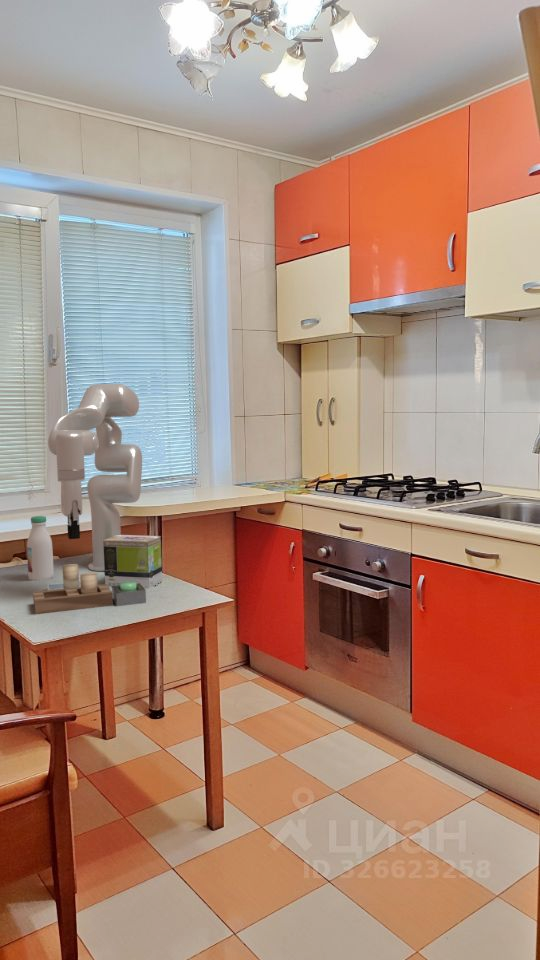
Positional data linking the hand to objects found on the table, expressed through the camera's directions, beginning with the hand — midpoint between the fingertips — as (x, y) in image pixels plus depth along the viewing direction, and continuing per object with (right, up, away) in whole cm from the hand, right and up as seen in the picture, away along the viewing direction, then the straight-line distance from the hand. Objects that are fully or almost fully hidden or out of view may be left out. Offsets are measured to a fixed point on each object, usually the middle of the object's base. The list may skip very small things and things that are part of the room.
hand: (74, 538), depth 203 cm
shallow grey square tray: (-1, -17, +2) cm, 17 cm away
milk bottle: (-16, -15, +21) cm, 31 cm away
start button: (+17, -15, -7) cm, 24 cm away
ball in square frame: (+17, -17, -6) cm, 25 cm away
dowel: (-1, -16, +2) cm, 16 cm away
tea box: (+15, -16, +13) cm, 25 cm away
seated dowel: (+7, -17, -8) cm, 20 cm away
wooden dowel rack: (+2, -18, -10) cm, 21 cm away
